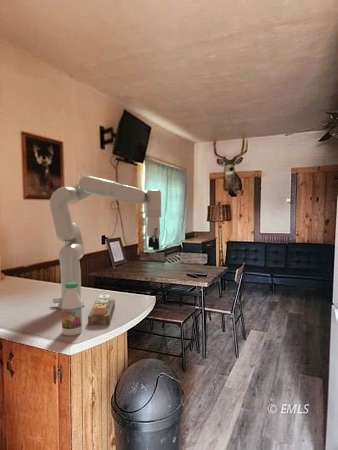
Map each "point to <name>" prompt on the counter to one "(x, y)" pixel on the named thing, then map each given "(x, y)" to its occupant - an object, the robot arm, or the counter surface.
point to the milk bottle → (71, 311)
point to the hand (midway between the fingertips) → (153, 248)
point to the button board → (101, 316)
